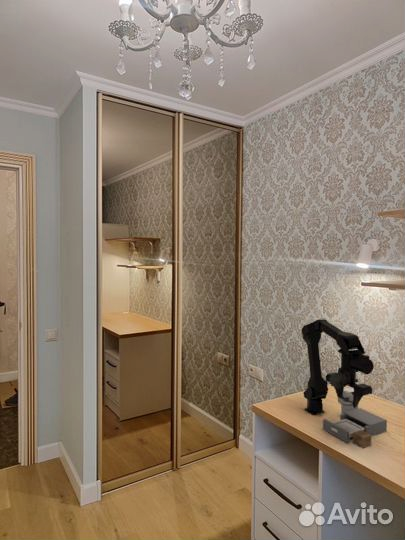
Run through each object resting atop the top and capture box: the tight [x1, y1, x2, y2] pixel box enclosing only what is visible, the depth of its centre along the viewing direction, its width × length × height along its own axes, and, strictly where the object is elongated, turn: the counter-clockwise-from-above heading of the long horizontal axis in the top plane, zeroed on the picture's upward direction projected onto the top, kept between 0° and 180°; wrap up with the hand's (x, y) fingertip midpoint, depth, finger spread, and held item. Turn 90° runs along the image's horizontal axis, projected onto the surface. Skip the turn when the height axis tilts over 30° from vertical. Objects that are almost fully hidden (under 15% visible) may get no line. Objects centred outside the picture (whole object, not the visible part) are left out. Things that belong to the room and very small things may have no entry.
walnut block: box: [352, 430, 372, 449], centre depth 141 cm, size 4×4×4 cm
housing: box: [339, 407, 388, 437], centre depth 155 cm, size 13×12×5 cm
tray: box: [322, 418, 364, 444], centre depth 150 cm, size 12×12×4 cm
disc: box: [337, 395, 353, 406], centre depth 150 cm, size 7×7×2 cm
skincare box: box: [340, 387, 359, 414], centre depth 165 cm, size 6×4×12 cm
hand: (347, 404), depth 150 cm, fingers closed on disc, 7 cm apart
